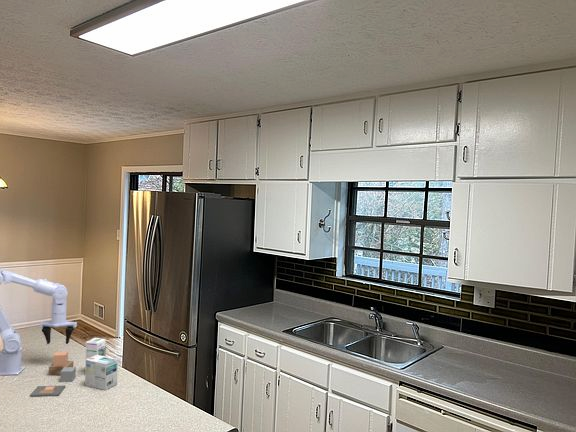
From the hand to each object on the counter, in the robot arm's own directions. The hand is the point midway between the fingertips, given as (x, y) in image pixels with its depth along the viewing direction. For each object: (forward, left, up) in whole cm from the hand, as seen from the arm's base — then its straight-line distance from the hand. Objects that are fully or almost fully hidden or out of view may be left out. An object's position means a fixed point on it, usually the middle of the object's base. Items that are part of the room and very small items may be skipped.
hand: (58, 343), depth 194 cm
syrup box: (+18, -10, -10) cm, 23 cm away
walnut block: (+4, -8, -10) cm, 14 cm away
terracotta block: (+4, -8, -6) cm, 11 cm away
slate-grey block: (+9, -16, -10) cm, 21 cm away
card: (+5, -27, -10) cm, 29 cm away
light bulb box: (+23, -22, -10) cm, 33 cm away
